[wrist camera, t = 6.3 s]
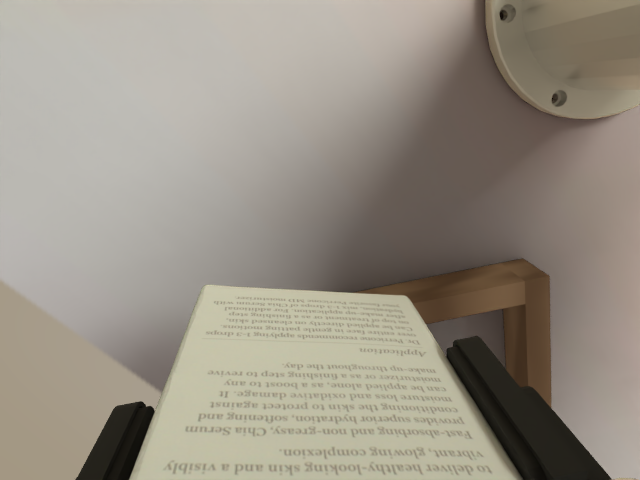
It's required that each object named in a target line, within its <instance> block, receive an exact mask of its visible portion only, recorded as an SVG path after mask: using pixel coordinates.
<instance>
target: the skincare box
mask: <svg viewBox="0 0 640 480" xmlns="http://www.w3.org/2000/svg"><path fill="white" fill-rule="evenodd" d="M129 480H523V478H522V477H521V475H520V474H519V472H518V470H517V469H516V467H515V466H514V464H513V462H512V461H511V459H510V458H509V456H508V455H507V453H506V451H505V450H504V448H503V447H502V445H501V443H500V442H499V440H498V439H497V437H496V435H495V434H494V432H493V431H492V429H491V427H490V426H489V424H488V423H487V421H486V419H485V418H484V416H483V415H482V413H481V411H480V410H479V408H478V407H477V405H476V403H475V402H474V400H473V399H472V397H471V395H470V394H469V392H468V391H467V389H466V388H465V386H464V384H463V383H462V381H461V380H460V378H459V376H458V375H457V373H456V372H455V370H454V368H453V367H452V365H451V364H450V362H449V360H448V359H447V357H446V356H445V354H444V353H443V351H442V349H441V348H440V346H439V344H438V343H437V342H436V340H435V338H434V337H433V335H432V333H431V332H430V330H429V329H428V327H427V326H426V324H425V322H424V321H423V319H422V318H421V316H420V315H419V313H418V311H417V310H416V308H415V307H414V305H413V304H412V302H411V301H410V299H409V298H408V297H407V296H404V295H381V294H363V293H344V292H326V291H308V290H288V289H269V288H252V287H232V286H218V285H205V286H203V288H202V290H201V292H200V294H199V297H198V299H197V302H196V304H195V307H194V309H193V312H192V315H191V317H190V320H189V323H188V326H187V329H186V331H185V334H184V336H183V339H182V341H181V344H180V347H179V350H178V352H177V355H176V358H175V361H174V364H173V367H172V369H171V372H170V375H169V377H168V380H167V382H166V384H165V386H164V389H163V392H162V394H161V397H160V399H159V402H158V405H157V407H156V410H155V413H154V415H153V418H152V420H151V423H150V426H149V428H148V431H147V434H146V436H145V439H144V441H143V444H142V447H141V449H140V452H139V455H138V458H137V460H136V462H135V466H134V468H133V471H132V474H131V476H130V479H129Z"/></svg>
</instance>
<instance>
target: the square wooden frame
mask: <svg viewBox="0 0 640 480" xmlns="http://www.w3.org/2000/svg"><path fill="white" fill-rule="evenodd" d="M353 293H363V294H381V295H404V296H407V297H408V298H409V299H410V301H411V302H412V304H413V305H414V307H415V308H416V310H417V311H418V313H419V315H420V316H421V318H422V319H423V321H424V322H425V324H429V323H434V322H439V321H444V320H449V319H454V318H459V317H464V316H469V315H474V314H479V313H483V312H488V311H493V310H498V309H503V319H504V339H505V358H506V370H507V372H508V373H509V374H510V375H511V377H512V378H513V379H514V380H515V382H516V383H517V384H518V385H519V387H525V386H530V387H533V388H534V389H535V390H536V391H537V392H538V393H539V394H540V396H541V397H542V398H543V399H544V400H545V401H546V403H547V404H548V405H549V406H550V407H551V348H550V276H549V275H547V274H546V273H544V272H543V271H541V270H540V269H538V268H537V267H535V266H534V265H532V264H531V263H529V262H528V261H526V260H525V259H523V258H522V259H518V260H513V261H508V262H503V263H498V264H493V265H488V266H483V267H478V268H473V269H468V270H463V271H458V272H453V273H448V274H443V275H438V276H433V277H428V278H423V279H418V280H413V281H408V282H403V283H398V284H393V285H388V286H383V287H378V288H373V289H368V290H363V291H358V292H353Z"/></svg>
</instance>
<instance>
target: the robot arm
mask: <svg viewBox="0 0 640 480" xmlns="http://www.w3.org/2000/svg"><path fill="white" fill-rule="evenodd" d="M500 11H501V12H502V13H503V15H504V17H503V20H501V19H500V16H499V14H500ZM485 13H486V30H487V35H488V41H489V46H490V50H491V52H492V55H493V57H494V60H495V62H496V65H497V68H498V69H499V71H500V73H501V74H502V76H503V77H504V79H505V80H506V82H507V83H508V85H509V86H510V87H511V88H512V89H513V90H514V91H515V92H516V93H517V94H518V95H519V96H520V97H521V98H522V99H523V100H524V101H526V102H527V103H529V104H530V105H532V106H534V107H535V108H537V109H538V110H541V111H543V112H546V113H549V114H552V115H555V116H559V117H567V118H574V119H597V118H602V117H607V116H612V115H616V114H619V113H621V112H624V111H626V110H629V109H632V108H634V107H636V106H638V105H639V104H640V0H485ZM552 96H553V97H554V98H553V101H552ZM446 352H447V359H448V360H449V362H450V364H451V365H452V367H453V368H454V370H455V372H456V373H457V375H458V376H459V378H460V380H461V381H462V383H463V384H464V386H465V388H466V389H467V391H468V392H469V394H470V395H471V397H472V399H473V400H474V402H475V403H476V405H477V407H478V408H479V410H480V411H481V413H482V415H483V416H484V418H485V419H486V421H487V423H488V424H489V426H490V427H491V429H492V431H493V432H494V434H495V435H496V437H497V439H498V440H499V442H500V443H501V445H502V447H503V448H504V450H505V451H506V453H507V455H508V456H509V458H510V459H511V461H512V462H513V464H514V466H515V467H516V469H517V470H518V472H519V474H520V475H521V477H522V478H523V480H638V479H633V478H617V479H611V478H610V477H609V475H608V474H607V473H606V472H605V471H604V469H603V468H602V467H601V466H600V465H599V464H598V462H597V461H596V460H595V459H594V458H593V457H592V455H591V454H590V453H589V452H588V451H587V450H586V448H585V447H584V446H583V445H582V444H581V443H580V441H579V440H578V439H577V438H576V437H575V435H574V434H573V433H572V432H571V431H570V430H569V428H568V427H567V426H566V425H565V424H564V423H563V421H562V420H561V419H560V418H559V417H558V416H557V414H556V413H555V412H554V411H553V410H552V409H551V407H550V406H549V405H548V404H547V403H546V401H545V400H544V399H543V398H542V397H541V396H540V394H539V393H538V392H537V391H536V390H535V389H534V388H533V387H530V386H525V387H519V385H518V384H517V383H516V382H515V380H514V379H513V378H512V377H511V375H510V374H509V373H508V372H507V370H506V369H505V368H504V367H503V365H502V364H501V363H500V362H499V361H498V359H497V358H496V357H495V356H494V354H493V353H492V352H491V351H490V349H489V348H488V347H487V346H486V344H485V343H484V342H483V341H482V339H481V338H480V337H478V336H475V337H470V338H465V339H460V340H455V341H454V342H453V347H451V348H447V351H446ZM154 413H155V411H154V409H153V408H152V407H151V406H148V407H146V405H145V404H144V403H143V402H135V403H130V404H124V405H119V406H116V407H115V408H114V409H113V411H112V413H111V415H110V417H109V419H108V421H107V422H106V424H105V426H104V428H103V430H102V432H101V434H100V436H99V438H98V439H97V441H96V443H95V445H94V447H93V449H92V451H91V453H90V455H89V456H88V458H87V460H86V462H85V464H84V466H83V468H82V470H81V472H80V473H79V475H78V477H77V478H76V480H129V479H130V476H131V474H132V471H133V468H134V466H135V462H136V460H137V458H138V455H139V452H140V449H141V447H142V444H143V441H144V439H145V436H146V434H147V431H148V428H149V426H150V423H151V420H152V418H153V415H154Z"/></svg>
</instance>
